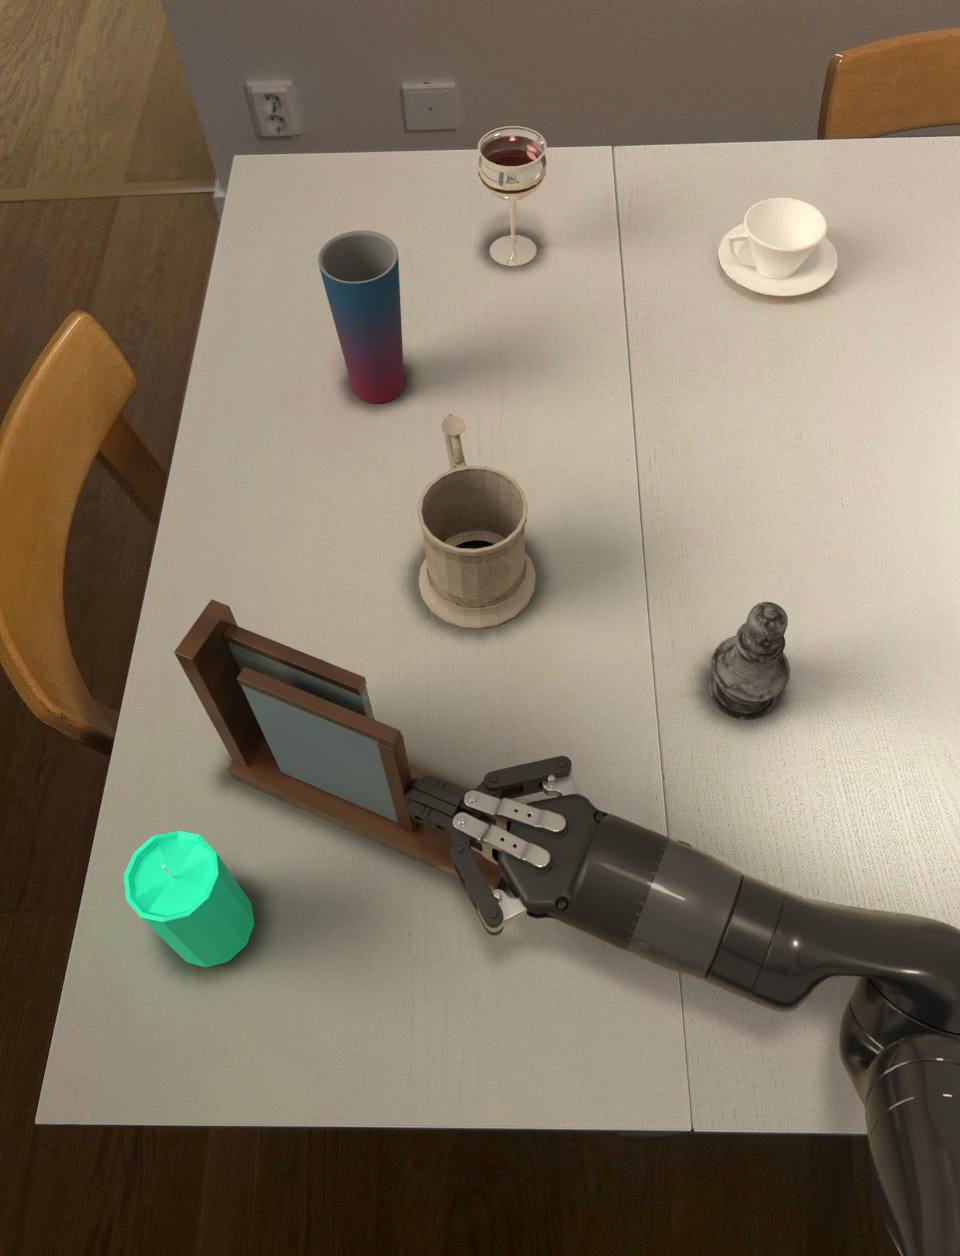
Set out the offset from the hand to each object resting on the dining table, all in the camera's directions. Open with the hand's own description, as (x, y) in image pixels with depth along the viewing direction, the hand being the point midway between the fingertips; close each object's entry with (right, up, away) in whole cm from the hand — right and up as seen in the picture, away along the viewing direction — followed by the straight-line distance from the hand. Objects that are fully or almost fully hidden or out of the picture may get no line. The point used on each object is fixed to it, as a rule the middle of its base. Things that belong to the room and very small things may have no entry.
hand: (409, 791), depth 71 cm
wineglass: (+8, +51, +41) cm, 66 cm away
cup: (-5, +34, +31) cm, 47 cm away
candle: (-14, -10, +4) cm, 18 cm away
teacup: (+35, +48, +38) cm, 71 cm away
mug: (+4, +17, +20) cm, 27 cm away
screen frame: (-3, -2, +8) cm, 9 cm away
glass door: (-5, -1, +7) cm, 8 cm away
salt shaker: (+25, +6, +12) cm, 29 cm away
